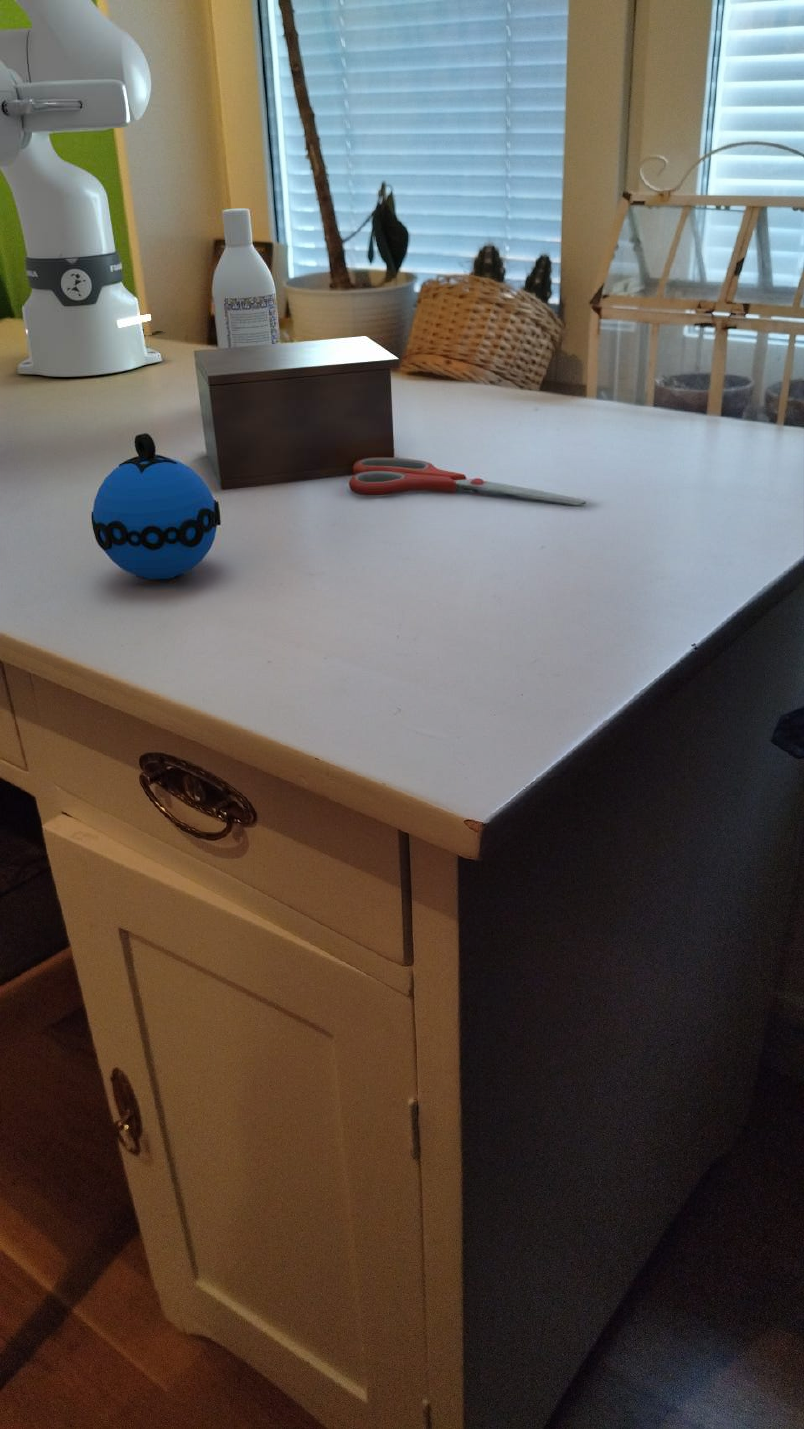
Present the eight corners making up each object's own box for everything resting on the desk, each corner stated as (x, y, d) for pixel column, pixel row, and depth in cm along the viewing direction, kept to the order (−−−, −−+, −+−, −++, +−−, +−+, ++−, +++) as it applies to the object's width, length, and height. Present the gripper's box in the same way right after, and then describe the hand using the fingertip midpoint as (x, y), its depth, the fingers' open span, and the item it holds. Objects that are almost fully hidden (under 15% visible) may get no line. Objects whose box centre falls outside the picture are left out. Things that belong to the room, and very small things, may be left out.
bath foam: (297, 399, 126) (281, 207, 116) (245, 410, 122) (224, 213, 113) (264, 391, 131) (245, 206, 121) (213, 401, 127) (190, 211, 117)
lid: (366, 344, 105) (365, 336, 105) (399, 368, 95) (399, 358, 94) (194, 359, 102) (193, 350, 102) (208, 385, 91) (207, 375, 91)
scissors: (584, 507, 87) (585, 489, 86) (334, 496, 92) (332, 479, 92) (596, 479, 93) (597, 462, 93) (361, 471, 99) (360, 454, 98)
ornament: (79, 579, 77) (52, 438, 73) (181, 547, 83) (161, 412, 78) (146, 610, 72) (122, 459, 67) (251, 573, 77) (235, 430, 72)
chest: (363, 437, 109) (358, 345, 105) (395, 470, 99) (390, 369, 94) (206, 454, 106) (194, 360, 102) (221, 490, 95) (208, 386, 91)
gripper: (28, 60, 88) (175, 60, 96) (-77, 75, 101) (60, 74, 109) (43, 149, 90) (185, 142, 99) (-60, 152, 104) (72, 146, 112)
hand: (118, 106), depth 104 cm, fingers closed
